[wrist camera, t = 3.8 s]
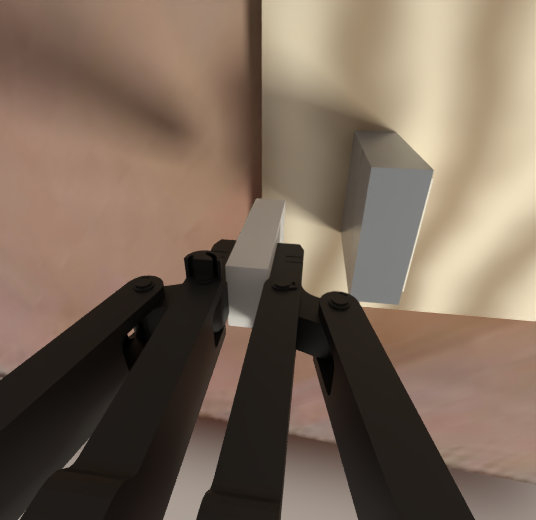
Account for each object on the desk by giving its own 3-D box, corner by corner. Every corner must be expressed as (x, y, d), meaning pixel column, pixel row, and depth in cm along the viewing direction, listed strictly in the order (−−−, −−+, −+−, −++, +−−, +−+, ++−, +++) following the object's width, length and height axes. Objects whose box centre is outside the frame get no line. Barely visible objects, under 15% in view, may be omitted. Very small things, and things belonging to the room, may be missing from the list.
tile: (340, 232, 25) (349, 300, 18) (354, 130, 21) (371, 167, 14) (382, 235, 24) (406, 305, 18) (402, 132, 21) (444, 170, 14)
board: (263, 289, 30) (261, 297, 29) (264, 1, 19) (261, -1, 18) (562, 314, 27) (572, 324, 26) (748, -1, 17) (775, -4, 16)
